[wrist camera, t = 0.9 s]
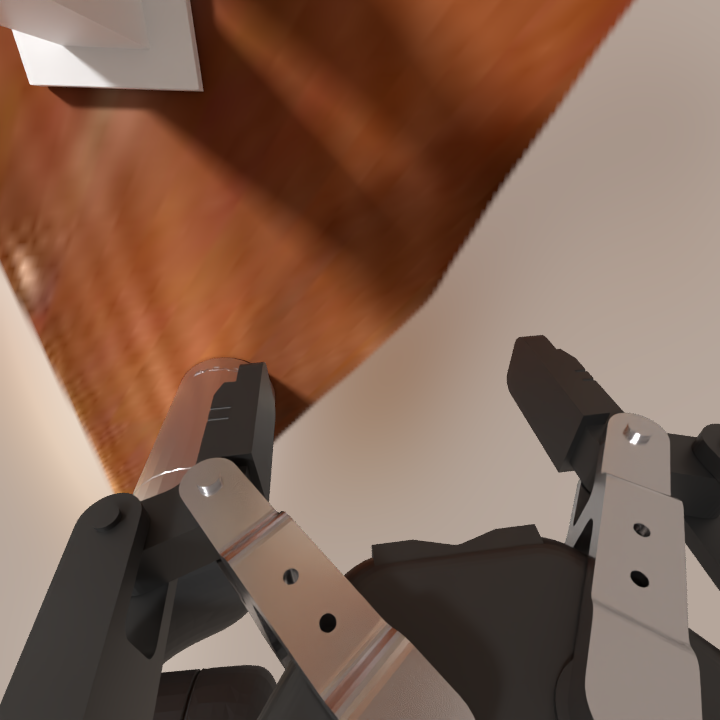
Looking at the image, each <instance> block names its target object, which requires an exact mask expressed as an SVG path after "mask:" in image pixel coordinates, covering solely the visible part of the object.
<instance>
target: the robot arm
mask: <svg viewBox="0 0 720 720" xmlns="http://www.w3.org/2000/svg"><path fill="white" fill-rule="evenodd" d="M507 385H508V389H509V392H510V393H511V395H512V397H513V398H514V400H515V402H516V403H517V405H518V407H519V408H520V410H521V411H522V413H523V415H524V416H525V418H526V420H527V421H528V423H529V425H530V426H531V428H532V430H533V431H534V433H535V434H536V436H537V438H538V439H539V441H540V442H541V444H542V446H543V448H544V449H545V451H546V452H547V454H548V456H549V457H550V459H551V461H552V462H553V464H554V465H555V467H556V469H557V470H558V472H567V471H575V472H576V473H577V475H578V477H579V478H580V480H579V482H578V484H577V489H576V494H575V499H574V504H573V510H572V514H571V520H570V525H569V530H568V534H567V538H566V541H565V544H564V543H561V542H559V541H556V540H552V539H548V538H543V537H541V536H540V534H539V532H538V530H537V528H536V526H535V524H532V525H524V526H517V527H508V528H502V529H495V530H492V531H490V532H488V533H485V534H483V535H481V536H478V537H476V538H474V539H472V540H469V541H467V542H465V543H463V544H459V545H450V544H441V543H434V542H426V541H418V540H408V541H400V542H392V543H384V544H376V545H372V558H370V559H368V560H365V561H363V562H362V563H360V564H359V565H357V566H355V567H354V568H352V569H351V570H350V571H349V572H347V573H346V574H345V575H343V574H342V573H341V572H340V571H339V570H338V569H337V567H336V566H335V565H334V564H333V563H332V562H331V561H330V560H329V559H328V558H327V556H326V555H325V554H324V553H323V552H322V551H321V550H320V549H319V548H318V547H317V545H316V544H315V543H314V542H313V541H312V540H311V539H310V538H309V536H308V535H307V534H306V533H305V532H304V531H303V530H302V529H301V528H300V526H299V525H298V524H297V523H296V522H295V521H294V520H293V519H292V518H291V517H290V516H289V515H288V514H287V513H286V512H284V511H281V512H280V513H279V512H277V511H276V510H275V509H274V508H273V507H272V506H271V505H270V503H269V494H270V481H271V466H272V453H273V441H274V427H275V391H274V388H273V385H272V383H271V381H270V380H269V375H268V371H267V367H266V364H265V362H260V363H248V362H245V361H243V360H239V359H234V358H215V359H210V360H207V361H204V362H201V363H199V364H198V365H196V366H194V367H193V368H192V369H190V370H189V371H188V372H187V373H186V375H185V376H184V378H183V380H182V381H181V384H180V386H179V388H178V391H177V393H176V395H175V397H174V400H173V402H172V404H171V406H170V409H169V411H168V413H167V416H166V418H165V420H164V423H163V425H162V427H161V430H160V432H159V434H158V437H157V439H156V441H155V444H154V446H153V448H152V451H151V453H150V455H149V458H148V460H147V462H146V465H145V467H144V469H143V472H142V474H141V476H140V479H139V481H138V483H137V486H136V488H135V490H134V493H133V495H132V494H129V493H117V494H113V495H110V496H107V497H105V498H102V499H101V500H99V501H97V502H96V503H94V504H93V505H92V506H90V507H89V508H88V509H87V510H86V511H85V512H84V513H83V514H82V515H81V516H80V518H79V519H78V521H77V523H76V524H75V527H74V529H73V531H72V534H71V536H70V539H69V541H68V543H67V546H66V548H65V551H64V553H63V555H62V558H61V560H60V563H59V565H58V567H57V570H56V572H55V575H54V577H53V579H52V582H51V584H50V586H49V589H48V591H47V594H46V596H45V599H44V601H43V603H42V606H41V608H40V610H39V613H38V615H37V618H36V620H35V622H34V625H33V628H32V630H31V632H30V634H29V637H28V639H27V642H26V644H25V646H24V649H23V651H22V654H21V656H20V658H19V661H18V663H17V666H16V668H15V670H14V673H13V675H12V678H11V680H10V683H9V685H8V687H7V690H6V692H5V694H4V697H3V699H2V702H1V704H0V720H720V650H719V649H718V648H716V647H715V646H713V645H712V644H711V643H709V642H708V641H706V640H705V639H704V638H702V637H701V636H699V635H698V634H697V633H695V632H694V631H692V630H691V629H690V628H688V612H687V611H688V610H687V609H688V608H687V583H686V559H685V558H686V557H685V543H686V545H687V546H688V547H689V549H690V550H691V551H692V553H693V554H694V555H695V557H696V558H697V560H698V561H699V563H700V564H701V565H702V567H703V568H704V570H705V571H706V572H707V574H708V575H709V577H710V578H711V579H712V581H713V582H714V584H715V585H716V586H717V588H718V589H719V590H720V424H710V425H707V426H706V427H704V429H703V430H702V431H701V433H700V434H699V435H698V437H690V436H683V435H676V434H669V433H666V432H665V430H664V429H663V428H662V427H661V426H659V425H658V424H657V423H655V422H654V421H652V420H650V419H648V418H646V417H644V416H641V415H637V414H632V413H624V412H623V411H622V410H621V408H620V407H619V406H618V405H617V404H616V403H615V402H614V401H613V400H612V398H611V397H610V396H609V395H608V394H607V393H606V392H605V391H604V389H603V388H602V387H601V386H600V385H599V384H598V383H597V382H596V381H594V380H593V377H592V376H591V375H590V374H589V373H588V372H587V371H585V368H584V367H583V366H582V365H581V364H580V363H579V362H578V360H577V359H576V358H575V357H573V356H571V355H570V354H568V353H566V352H565V351H563V350H561V349H556V348H555V347H554V346H553V345H552V344H551V343H550V341H549V340H548V339H547V338H546V337H545V336H543V335H537V336H527V337H519V338H518V339H517V340H516V342H515V345H514V349H513V353H512V357H511V361H510V365H509V369H508V373H507ZM247 612H249V613H250V615H251V616H252V618H253V620H254V621H255V623H256V625H257V626H258V628H259V630H260V631H261V633H262V635H263V636H264V638H265V639H266V641H267V642H268V644H269V645H270V647H271V648H272V650H273V651H274V653H275V654H276V656H277V657H278V659H279V660H280V662H281V664H282V665H283V666H284V668H285V671H284V673H283V675H282V676H281V678H280V680H279V682H278V683H277V684H276V682H275V680H274V678H273V676H272V675H271V673H270V672H269V671H268V670H267V669H265V668H263V667H261V666H252V665H242V666H230V667H218V668H210V669H202V670H201V671H200V669H195V670H185V671H174V672H164V673H161V671H162V665H163V664H164V663H165V662H166V661H167V660H169V659H170V658H172V657H173V656H174V655H176V654H177V653H179V652H180V651H182V650H184V649H185V648H187V647H189V646H191V645H193V644H194V643H196V642H199V641H200V640H203V639H205V638H207V637H209V636H211V635H213V634H215V633H218V632H220V631H222V630H224V629H225V628H227V627H229V626H231V625H232V624H234V623H235V622H237V621H238V620H239V619H241V618H242V617H243V616H244V615H245V614H246V613H247Z"/></svg>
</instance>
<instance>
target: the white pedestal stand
mask: <svg viewBox="0 0 720 720" xmlns="http://www.w3.org/2000/svg"><path fill="white" fill-rule="evenodd" d="M0 25H1V26H4V27H7V28H10V29H12V31H13V34H14V37H15V40H16V43H17V46H18V49H19V53H20V56H21V59H22V62H23V65H24V68H25V71H26V74H27V77H28V80H29V83H30V85H37V86H49V87H80V88H111V89H142V90H172V91H203V85H202V78H201V71H200V64H199V58H198V51H197V44H196V37H195V31H194V24H193V17H192V11H191V4H190V0H0ZM203 92H204V91H203Z"/></svg>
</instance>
